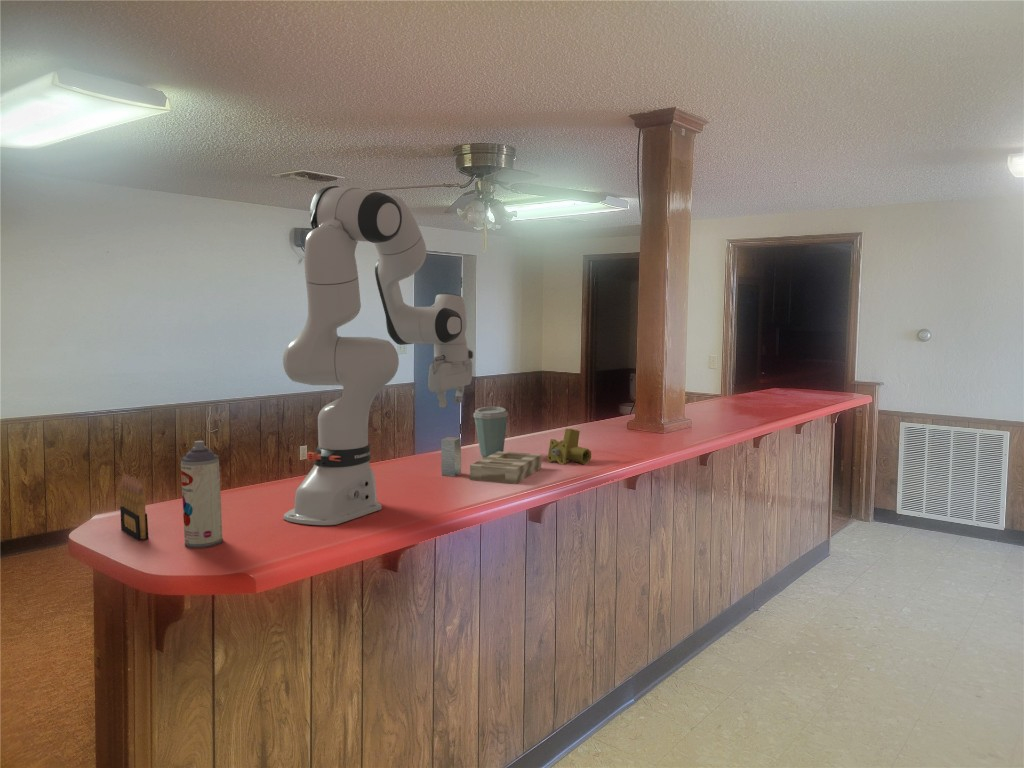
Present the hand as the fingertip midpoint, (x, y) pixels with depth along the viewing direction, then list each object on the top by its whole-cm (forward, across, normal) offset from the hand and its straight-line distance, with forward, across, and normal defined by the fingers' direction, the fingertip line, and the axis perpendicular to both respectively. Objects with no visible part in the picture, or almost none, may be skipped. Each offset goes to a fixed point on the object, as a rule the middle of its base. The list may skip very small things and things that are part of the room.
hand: (451, 404), depth 198 cm
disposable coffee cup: (+20, +26, -1) cm, 32 cm away
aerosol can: (+19, -70, +20) cm, 76 cm away
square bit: (+19, 0, 0) cm, 19 cm away
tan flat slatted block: (+19, +6, -14) cm, 25 cm away
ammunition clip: (+19, -71, +37) cm, 82 cm away
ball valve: (+20, +27, -25) cm, 41 cm away
